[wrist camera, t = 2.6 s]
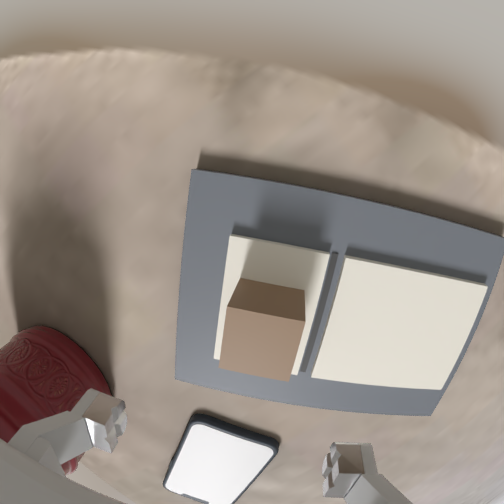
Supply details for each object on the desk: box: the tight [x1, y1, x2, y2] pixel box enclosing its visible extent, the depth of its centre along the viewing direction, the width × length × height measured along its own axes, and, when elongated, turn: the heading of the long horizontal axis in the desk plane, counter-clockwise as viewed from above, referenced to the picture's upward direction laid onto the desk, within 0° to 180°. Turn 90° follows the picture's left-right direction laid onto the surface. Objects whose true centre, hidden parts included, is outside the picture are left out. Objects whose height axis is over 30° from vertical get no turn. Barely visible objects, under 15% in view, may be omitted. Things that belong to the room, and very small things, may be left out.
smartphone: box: [163, 414, 279, 504], centre depth 28 cm, size 9×2×16 cm
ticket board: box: [175, 169, 504, 416], centre depth 21 cm, size 22×16×2 cm
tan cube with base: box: [214, 234, 330, 382], centre depth 19 cm, size 6×9×4 cm, turn 171°
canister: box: [0, 326, 111, 475], centre depth 19 cm, size 13×13×18 cm
